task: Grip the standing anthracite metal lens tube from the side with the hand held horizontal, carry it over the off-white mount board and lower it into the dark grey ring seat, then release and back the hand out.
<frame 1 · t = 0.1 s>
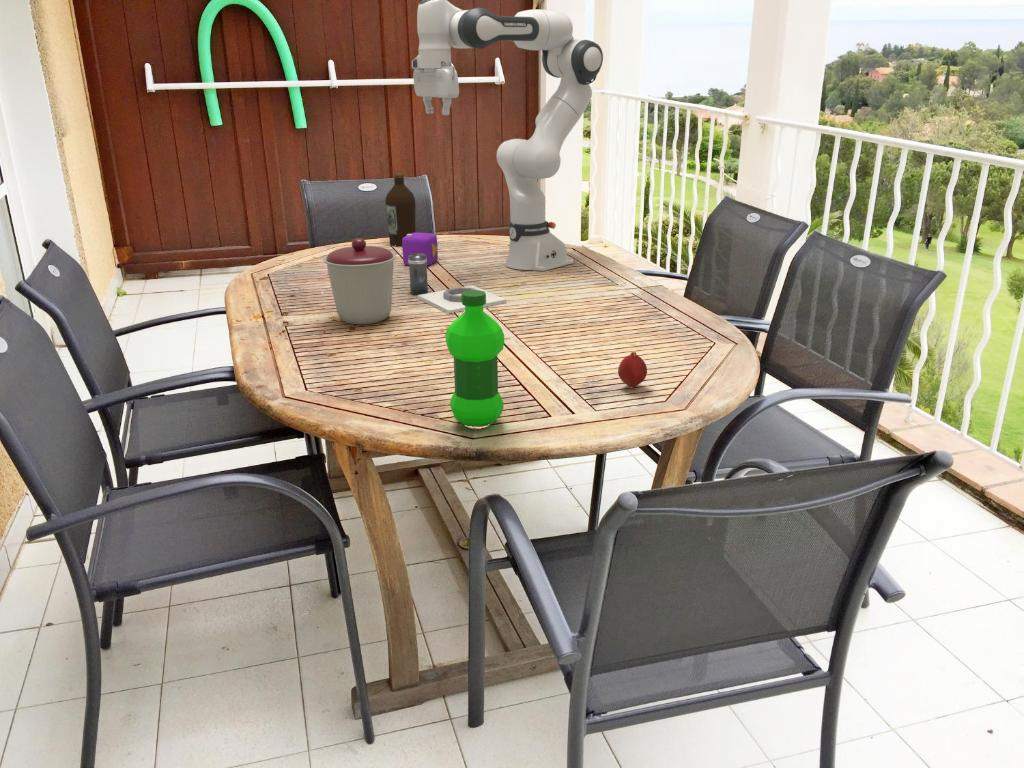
hand: (437, 114, 229), 48 cm above the table, tool pointing down, fingers open, 8 cm apart
olive oil: (402, 244, 294), on the table
onion: (631, 388, 166), on the table
plastic bottle: (477, 424, 150), on the table
toy camera: (422, 262, 268), on the table
lens tube: (419, 293, 233), on the table
canister: (365, 319, 211), on the table
mount board: (461, 300, 225), on the table
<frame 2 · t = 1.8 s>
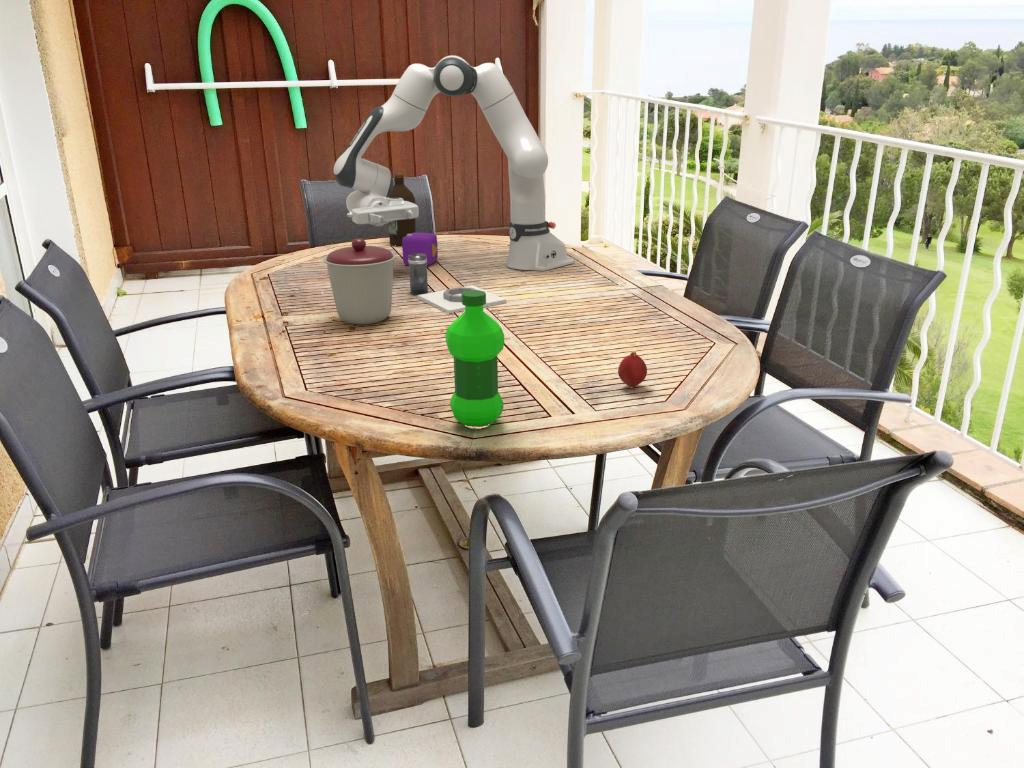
hand: (396, 217, 235), 20 cm above the table, tool horizontal, fingers open, 8 cm apart
nothing on the table moved.
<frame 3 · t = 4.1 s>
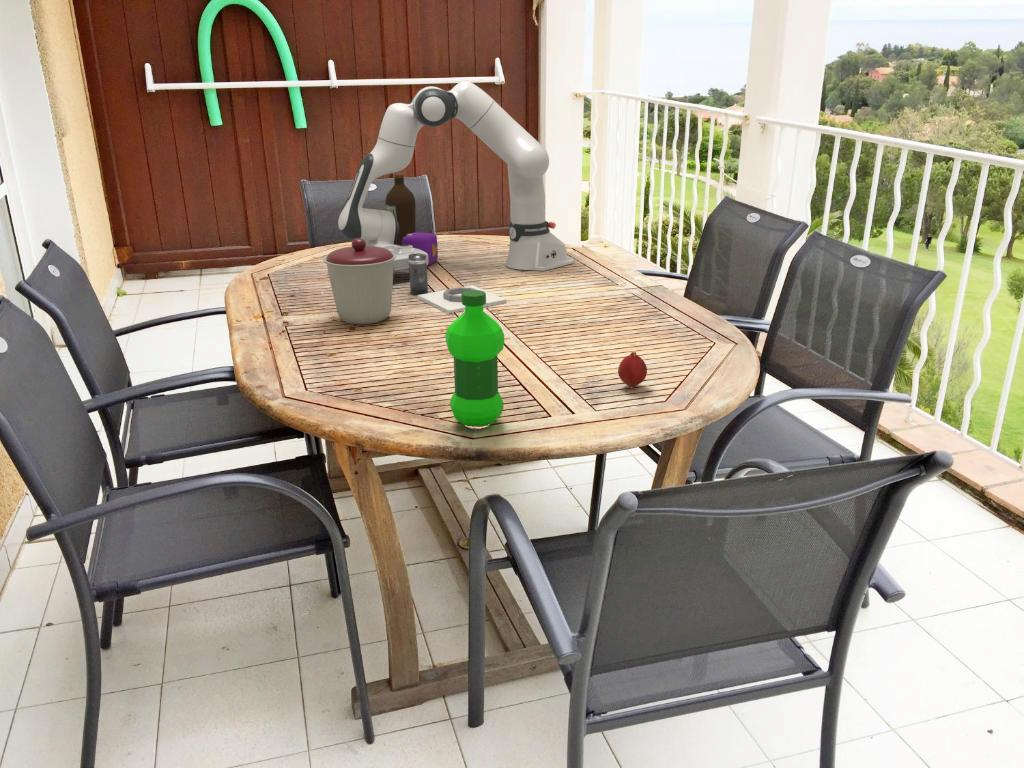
hand: (406, 267, 237), 6 cm above the table, tool horizontal, fingers open, 8 cm apart
nothing on the table moved.
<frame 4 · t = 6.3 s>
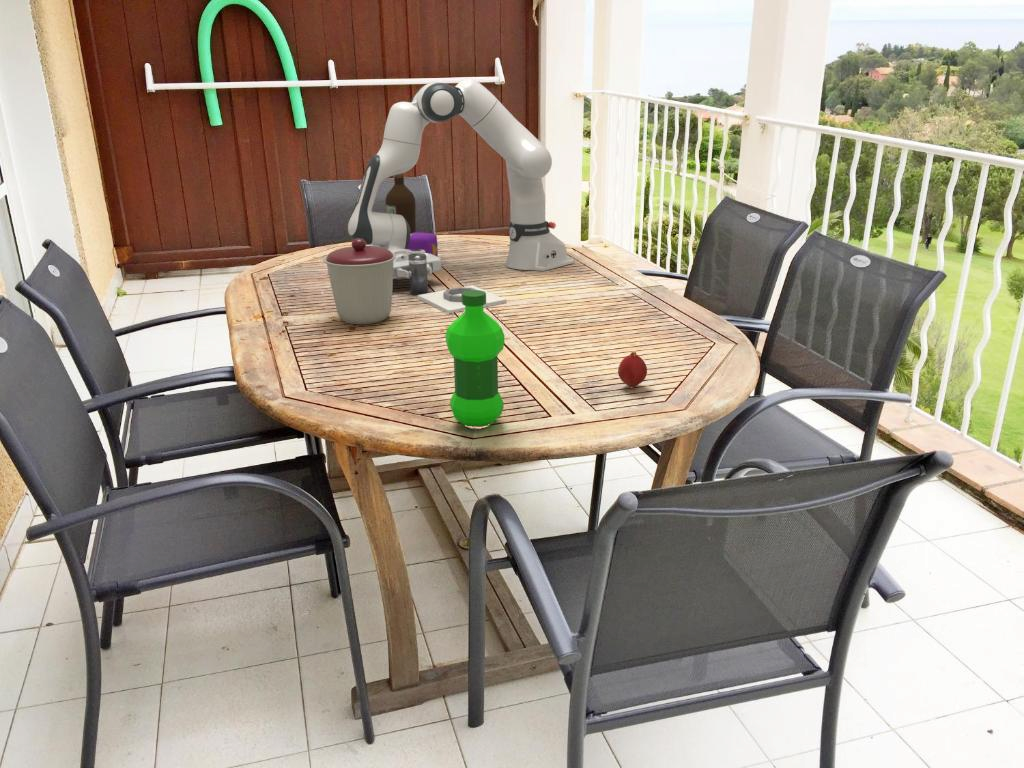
hand: (419, 273, 230), 6 cm above the table, tool horizontal, fingers closed on lens tube, 5 cm apart
lens tube: (419, 292, 233), on the table, touching gripper
everything else where it was.
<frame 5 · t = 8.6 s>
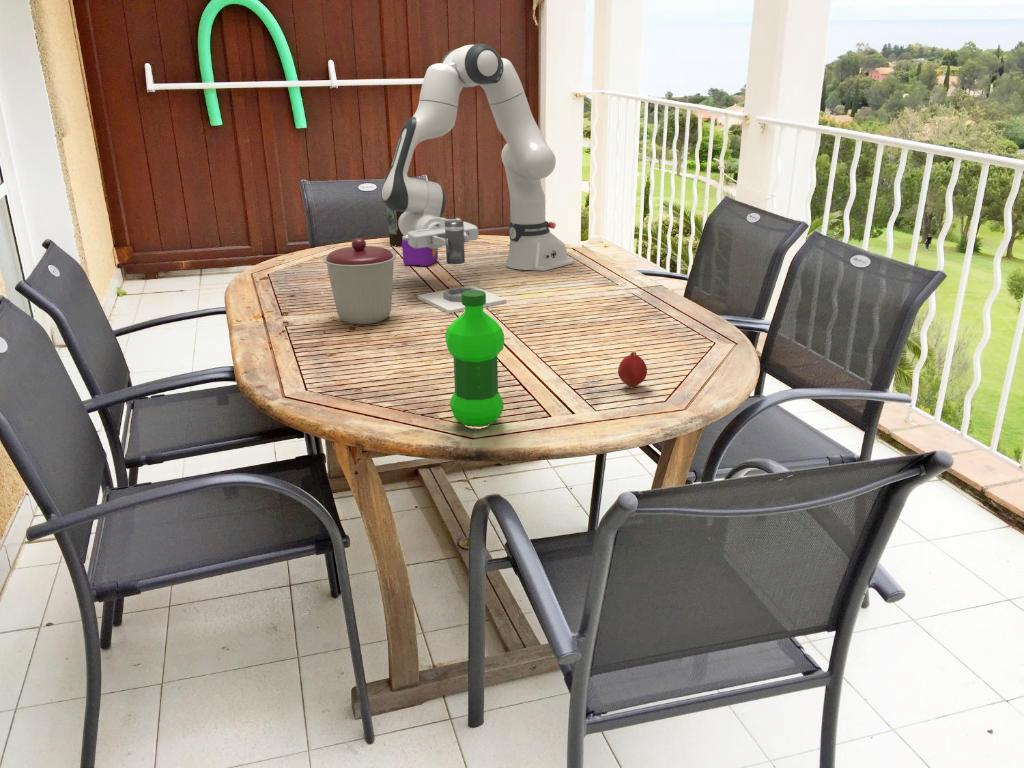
hand: (456, 240, 219), 17 cm above the table, tool horizontal, fingers closed on lens tube, 5 cm apart
lens tube: (455, 262, 222), point 11 cm above the table, touching gripper
everything else where it was.
when the fingers open (8 cm above the table, at t = 10.9 s): lens tube stays where it is, resting on mount board.
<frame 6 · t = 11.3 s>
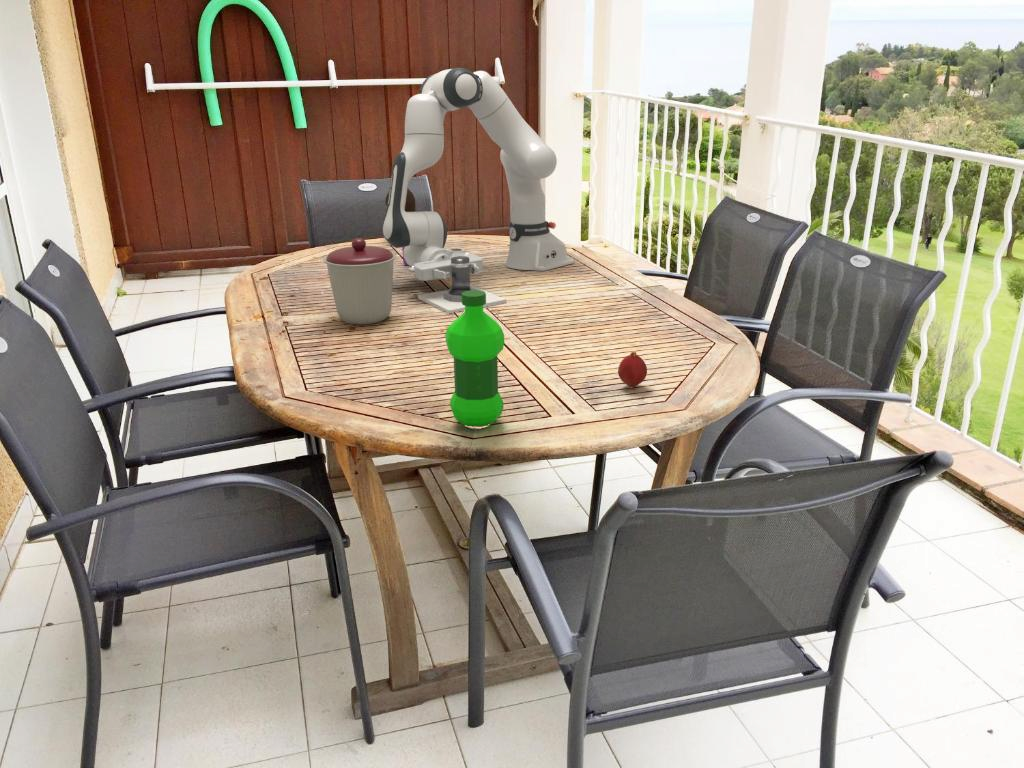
hand: (462, 273, 222), 8 cm above the table, tool horizontal, fingers open, 8 cm apart
lens tube: (461, 297, 225), point 1 cm above the table, touching mount board
everything else where it was.
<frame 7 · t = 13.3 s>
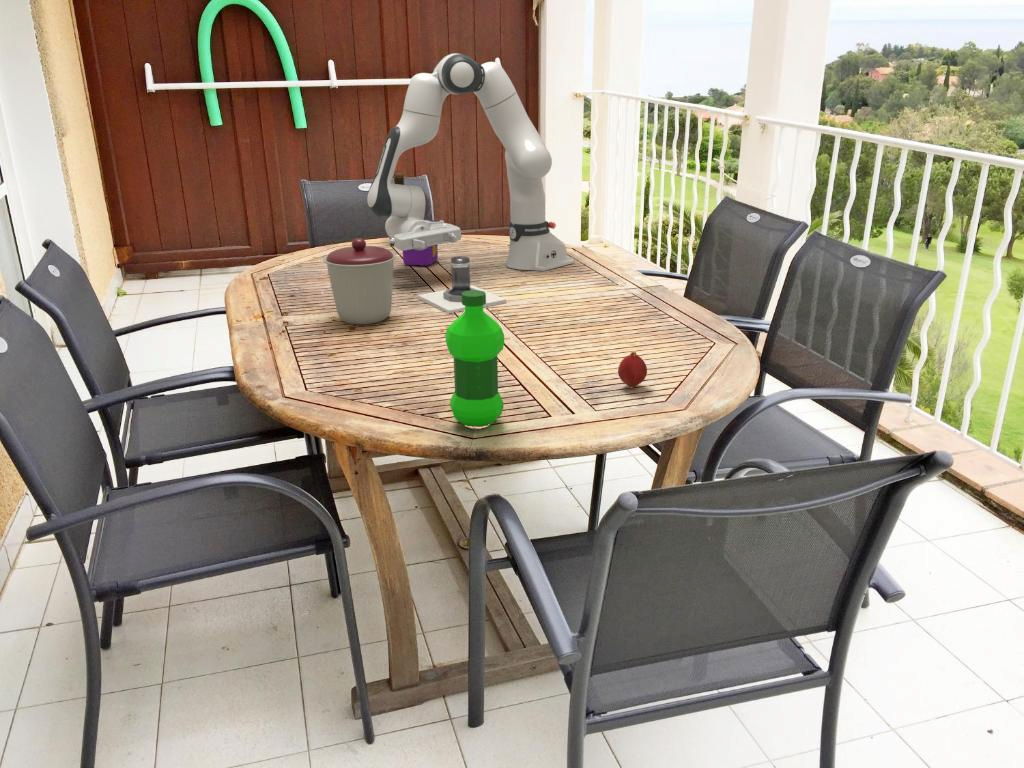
hand: (440, 242, 231), 14 cm above the table, tool horizontal, fingers open, 8 cm apart
nothing on the table moved.
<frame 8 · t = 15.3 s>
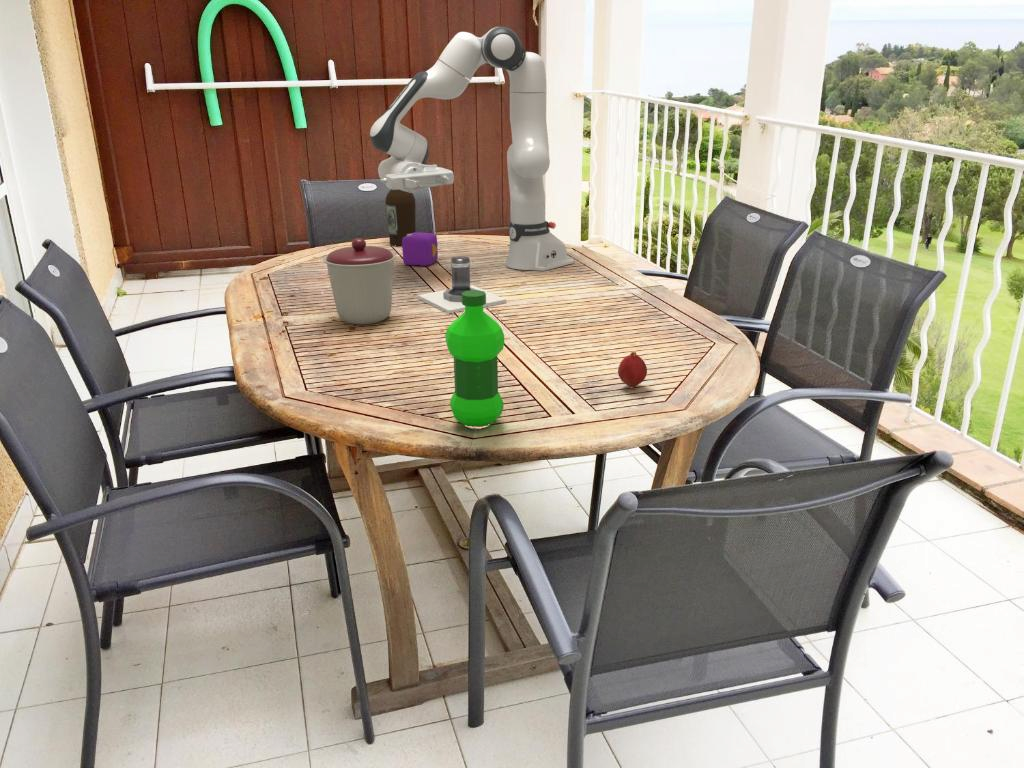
hand: (432, 182, 229), 30 cm above the table, tool horizontal, fingers open, 8 cm apart
nothing on the table moved.
at the end: lens tube 0.0 cm off-centre on the mount board, point 1.0 cm above the mount board's base; lens tube tilted 0°; the gripper is holding nothing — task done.
